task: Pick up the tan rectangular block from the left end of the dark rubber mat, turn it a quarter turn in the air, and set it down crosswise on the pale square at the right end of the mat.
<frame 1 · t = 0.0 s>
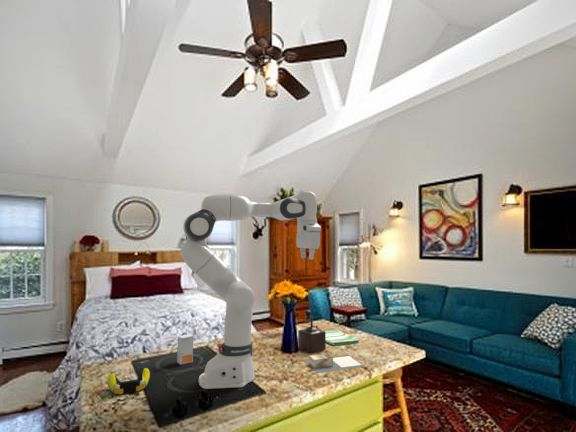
hand: (307, 258, 155), 48 cm above the kitchen island, tool pointing down, fingers open, 8 cm apart
tan rectangular block: (321, 364, 157), resting on mat
mat: (333, 364, 159), on the kitchen island
gaming controller: (129, 389, 134), on the kitchen island
skincare box: (185, 362, 161), on the kitchen island
manual coffee grinder: (309, 348, 182), on the kitchen island
dish towel: (335, 339, 198), on the kitchen island
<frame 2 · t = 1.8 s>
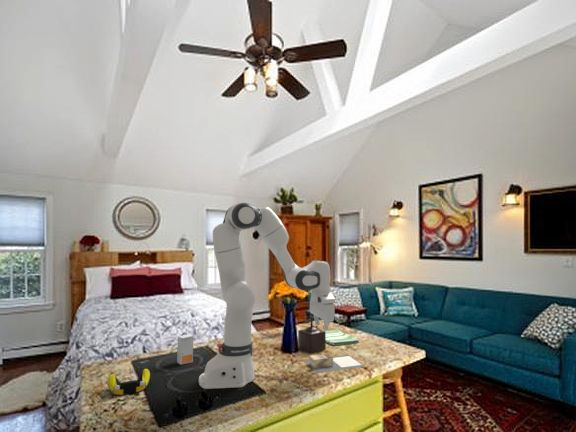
hand: (321, 327, 158), 17 cm above the kitchen island, tool pointing down, fingers open, 8 cm apart
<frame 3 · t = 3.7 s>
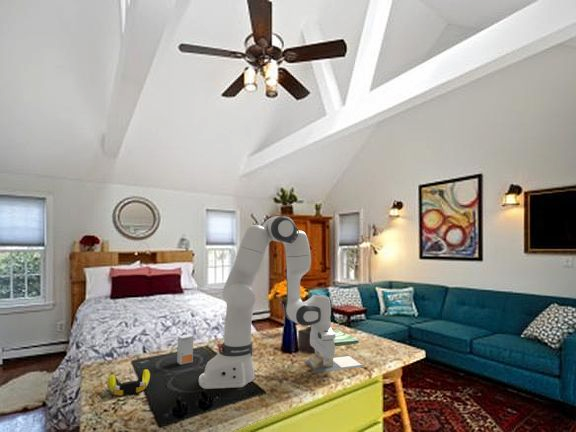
hand: (321, 361, 157), 2 cm above the kitchen island, tool pointing down, fingers closed on tan rectangular block, 5 cm apart
tan rectangular block: (321, 364, 157), resting on mat, touching gripper
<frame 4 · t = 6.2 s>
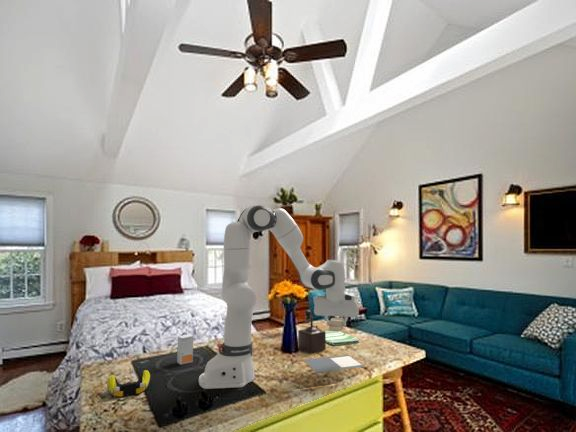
hand: (336, 325, 160), 17 cm above the kitchen island, tool pointing down, fingers closed on tan rectangular block, 5 cm apart
tan rectangular block: (336, 328, 160), point 16 cm above the kitchen island, touching gripper
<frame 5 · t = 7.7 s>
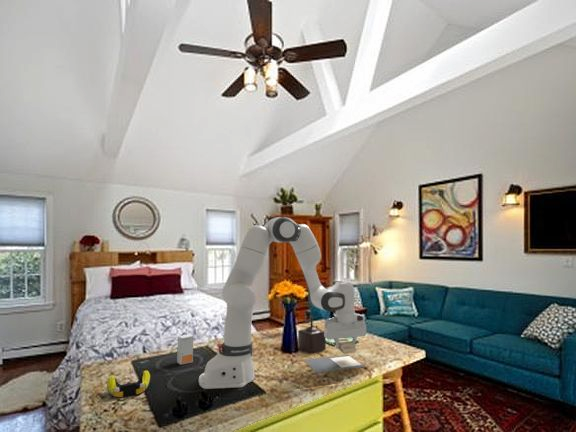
hand: (345, 347, 161), 7 cm above the kitchen island, tool pointing down, fingers closed on tan rectangular block, 5 cm apart
tan rectangular block: (345, 350, 161), point 6 cm above the kitchen island, touching gripper
when the fingers open (3 cm above the kitchen island, at t = 9.0 s): tan rectangular block stays where it is, resting on mat.
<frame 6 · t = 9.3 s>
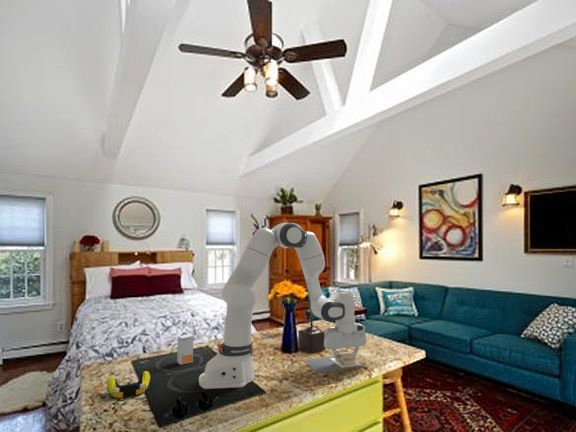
hand: (345, 357, 161), 3 cm above the kitchen island, tool pointing down, fingers open, 8 cm apart
tan rectangular block: (345, 361, 161), point 1 cm above the kitchen island, touching mat
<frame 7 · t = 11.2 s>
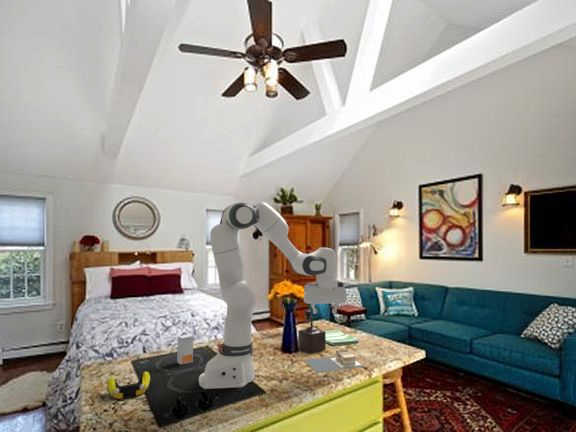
hand: (324, 313, 160), 23 cm above the kitchen island, tool pointing down, fingers open, 8 cm apart
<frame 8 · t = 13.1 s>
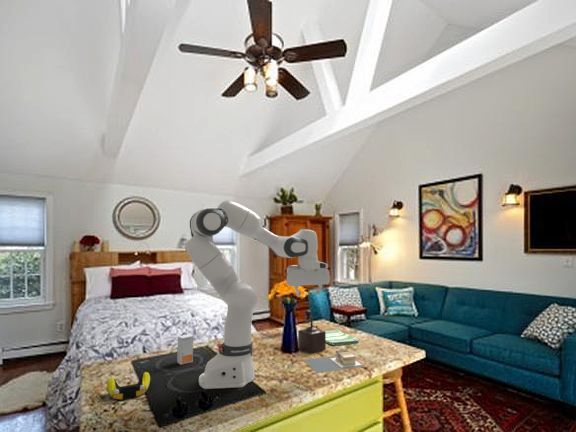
hand: (308, 295, 160), 31 cm above the kitchen island, tool pointing down, fingers open, 8 cm apart
at the end: tan rectangular block 0.1 cm from the target spot on the mat, point 0.6 cm above the mat's base; tan rectangular block tilted 0°; the gripper is holding nothing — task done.
